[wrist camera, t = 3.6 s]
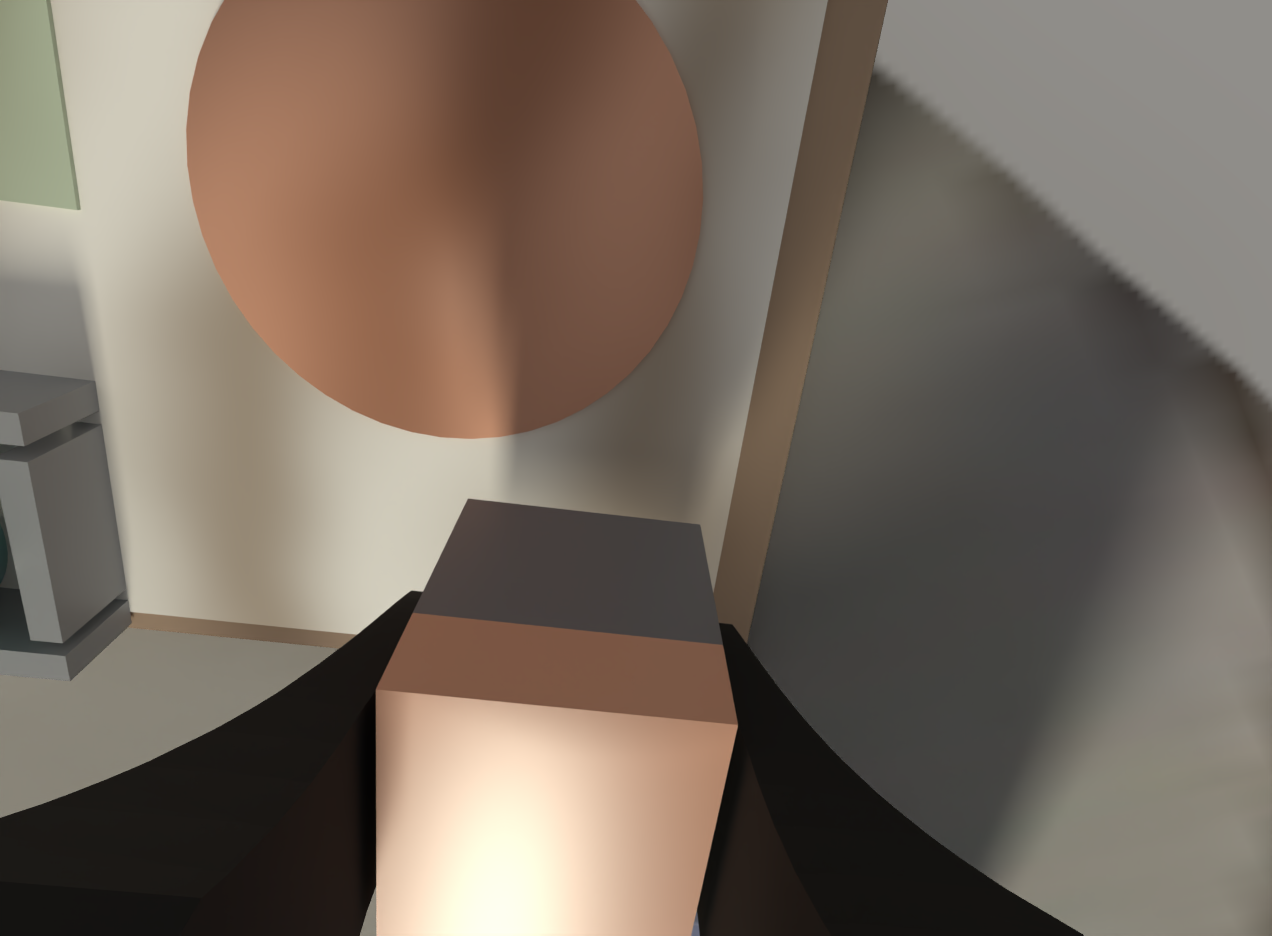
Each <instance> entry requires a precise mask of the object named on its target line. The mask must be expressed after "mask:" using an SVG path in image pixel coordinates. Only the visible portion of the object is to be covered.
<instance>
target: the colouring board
mask: <svg viewBox="0 0 1272 936" xmlns="http://www.w3.org/2000/svg"><path fill="white" fill-rule="evenodd" d="M887 3H888V0H0V370H5V371H14V372H22V373H31V374H40V375H48V376H57V377H65V378H74V379H82V380H91V381H95V383H96V389H97V396H98V403H99V409H100V410H99V411H97V412H95V413H93V414H91V415H89V416H87V417H85V418H83V419H80V420H78V421H76V422H84V423H93V424H101V425H102V429H103V436H104V442H105V449H106V456H107V462H108V469H109V475H110V482H111V489H112V495H113V502H114V509H115V515H116V522H117V528H118V535H119V542H120V548H121V555H122V562H123V568H124V575H125V581H126V588H127V589H125V590H124V591H123V592H122V593H121V594H120V595H118V596H117V597H116V598H115V599H121V600H128V601H129V608H130V615H131V621H132V623H131V624H130V625H129V626H128V627H129V628H139V629H149V630H159V631H169V632H180V633H190V634H200V635H210V636H220V637H230V638H240V639H250V640H260V641H270V642H280V643H290V644H300V645H310V646H320V647H330V648H340V647H342V646H343V645H344V644H346V643H347V642H348V641H349V640H351V639H352V638H353V637H355V636H356V635H357V634H358V633H360V632H361V631H362V630H363V629H364V628H366V627H367V626H368V625H369V624H371V623H372V622H373V621H374V620H375V619H377V618H378V617H379V616H380V615H381V614H383V613H384V612H385V611H386V610H387V609H389V608H390V607H391V606H392V605H393V604H395V603H396V602H397V601H398V600H399V599H401V598H402V597H403V596H404V595H406V594H407V593H408V592H410V591H411V590H412V591H422V592H423V591H424V588H425V586H426V584H427V582H428V580H429V578H430V576H431V574H432V572H433V570H434V568H435V566H436V564H437V562H438V559H439V557H440V555H441V553H442V551H443V549H444V547H445V545H446V543H447V541H448V539H449V537H450V535H451V532H452V530H453V528H454V526H455V524H456V522H457V520H458V518H459V516H460V514H461V512H462V510H463V508H464V506H465V503H466V501H467V499H477V500H486V501H495V502H504V503H513V504H522V505H531V506H540V507H549V508H558V509H567V510H575V511H584V512H593V513H602V514H611V515H620V516H629V517H638V518H647V519H656V520H665V521H674V522H682V523H691V524H700V526H701V531H702V536H703V542H704V547H705V552H706V558H707V563H708V568H709V573H710V579H711V584H712V589H713V595H714V600H715V605H716V611H717V616H718V621H719V623H725V624H733V626H734V627H735V628H736V630H737V631H738V632H739V634H740V635H741V637H742V638H743V639H744V641H745V642H746V644H747V641H748V636H749V632H750V627H751V623H752V618H753V613H754V609H755V604H756V600H757V595H758V591H759V586H760V582H761V577H762V572H763V568H764V563H765V559H766V554H767V550H768V545H769V540H770V536H771V531H772V527H773V522H774V518H775V513H776V509H777V504H778V499H779V495H780V490H781V486H782V481H783V477H784V472H785V468H786V463H787V458H788V454H789V449H790V445H791V440H792V436H793V431H794V427H795V422H796V417H797V413H798V408H799V404H800V399H801V395H802V390H803V385H804V381H805V376H806V372H807V367H808V363H809V358H810V354H811V349H812V344H813V340H814V335H815V331H816V326H817V322H818V317H819V313H820V308H821V303H822V299H823V294H824V290H825V285H826V281H827V276H828V272H829V267H830V262H831V258H832V253H833V249H834V244H835V240H836V235H837V230H838V226H839V221H840V217H841V212H842V208H843V203H844V199H845V194H846V189H847V185H848V180H849V176H850V171H851V167H852V162H853V158H854V153H855V148H856V144H857V139H858V135H859V130H860V126H861V121H862V117H863V112H864V107H865V103H866V98H867V94H868V89H869V85H870V80H871V75H872V71H873V66H874V62H875V57H876V53H877V48H878V44H879V39H880V34H881V29H882V25H883V20H884V16H885V12H886V7H887ZM15 447H17V446H16V445H7V444H0V454H2V453H4V452H6V451H9V450H11V449H13V448H15ZM0 525H1V527H2V529H3V532H4V536H5V539H6V544H7V551H8V562H7V568H6V573H5V575H4V578H3V580H2V582H1V584H0V587H3V588H13V589H20V588H19V584H18V579H17V574H16V570H15V565H14V560H13V556H12V551H11V546H10V542H9V537H8V532H7V527H6V523H5V518H4V513H3V509H2V504H1V499H0Z"/></svg>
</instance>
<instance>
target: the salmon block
mask: <svg viewBox="0 0 1272 936" xmlns="http://www.w3.org/2000/svg"><path fill="white" fill-rule="evenodd" d="M737 728H738V722H737V717H736V711H735V706H734V701H733V695H732V690H731V685H730V679H729V674H728V669H727V664H726V658H725V653H724V648H723V642H722V637H721V632H720V626H719V621H718V616H717V611H716V605H715V600H714V595H713V589H712V584H711V579H710V573H709V568H708V563H707V558H706V552H705V547H704V542H703V536H702V531H701V526H700V524H691V523H682V522H674V521H665V520H656V519H647V518H638V517H629V516H620V515H611V514H602V513H593V512H584V511H575V510H567V509H558V508H549V507H540V506H531V505H522V504H513V503H504V502H495V501H486V500H477V499H467V501H466V503H465V506H464V508H463V510H462V512H461V514H460V516H459V518H458V520H457V522H456V524H455V526H454V528H453V530H452V532H451V535H450V537H449V539H448V541H447V543H446V545H445V547H444V549H443V551H442V553H441V555H440V557H439V559H438V562H437V564H436V566H435V568H434V570H433V572H432V574H431V576H430V578H429V580H428V582H427V584H426V586H425V588H424V591H423V593H422V595H421V597H420V599H419V601H418V603H417V605H416V607H415V609H414V611H413V613H412V615H411V617H410V620H409V622H408V624H407V626H406V628H405V630H404V632H403V634H402V636H401V638H400V640H399V642H398V644H397V647H396V649H395V651H394V653H393V655H392V657H391V659H390V661H389V663H388V665H387V667H386V669H385V671H384V673H383V676H382V678H381V680H380V682H379V684H378V686H377V688H376V893H377V936H691V934H692V929H693V925H694V920H695V916H696V911H697V907H698V902H699V898H700V893H701V889H702V884H703V880H704V875H705V871H706V866H707V862H708V857H709V853H710V849H711V844H712V840H713V835H714V831H715V826H716V822H717V817H718V813H719V808H720V804H721V799H722V795H723V790H724V786H725V781H726V777H727V772H728V768H729V763H730V759H731V755H732V750H733V746H734V741H735V737H736V732H737Z"/></svg>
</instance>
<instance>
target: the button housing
mask: <svg viewBox="0 0 1272 936" xmlns="http://www.w3.org/2000/svg"><path fill="white" fill-rule="evenodd" d="M99 410H100V409H99V403H98V396H97V389H96V383H95V381H91V380H82V379H74V378H65V377H57V376H48V375H40V374H31V373H22V372H14V371H5V370H0V444H7V445H16V446H17V447H15V448H13V449H11V450H9V451H6V452H4V453H2V454H0V499H1V504H2V509H3V513H4V518H5V523H6V527H7V532H8V537H9V542H10V546H11V551H12V556H13V560H14V565H15V570H16V574H17V579H18V584H19V588H20V589H13V588H3V587H0V675H11V676H21V677H32V678H42V679H53V680H63V681H71V680H72V679H73V678H74V677H75V676H76V675H77V674H78V673H79V672H80V671H81V670H83V669H84V668H85V667H86V666H87V665H88V664H89V663H90V662H91V661H92V660H93V659H94V658H95V657H96V656H97V655H98V654H100V653H101V652H102V651H103V650H104V649H105V648H106V647H107V646H108V645H109V644H110V643H111V642H112V641H113V640H114V639H116V638H117V637H118V636H119V635H120V634H121V633H122V632H123V631H124V630H125V629H126V628H127V627H128V626H129V625H130V624H131V623H132V621H131V615H130V608H129V601H128V600H121V599H115V598H116V597H117V596H118V595H120V594H121V593H122V592H123V591H124V590H125V589H127V588H126V581H125V575H124V568H123V562H122V555H121V548H120V542H119V535H118V528H117V522H116V515H115V509H114V502H113V495H112V489H111V482H110V475H109V469H108V462H107V456H106V449H105V442H104V436H103V429H102V425H101V424H93V423H84V422H76V421H78V420H80V419H83V418H85V417H87V416H89V415H91V414H93V413H95V412H97V411H99Z"/></svg>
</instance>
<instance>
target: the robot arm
mask: <svg viewBox="0 0 1272 936" xmlns="http://www.w3.org/2000/svg"><path fill="white" fill-rule="evenodd" d="M422 593H423V592H422V591H412V590H411V591H410V592H408V593H407V594H406V595H404V596H403V597H402V598H401V599H399V600H398V601H397V602H396V603H395V604H393V605H392V606H391V607H390V608H389V609H387V610H386V611H385V612H384V613H383V614H381V615H380V616H379V617H378V618H377V619H375V620H374V621H373V622H372V623H371V624H369V625H368V626H367V627H366V628H364V629H363V630H362V631H361V632H360V633H358V634H357V635H356V636H355V637H353V638H352V639H351V640H349V641H348V642H347V643H346V644H344V645H343V646H342V647H340V648H339V649H338V650H337V651H335V652H334V653H333V654H331V655H330V656H329V657H328V658H326V659H325V660H324V661H322V662H321V663H320V664H318V665H317V666H315V667H314V668H312V669H311V670H310V671H308V672H307V673H305V674H304V675H302V676H301V677H300V678H298V679H297V680H295V681H294V682H292V683H291V684H290V685H288V686H287V687H285V688H284V689H282V690H281V691H279V692H278V693H276V694H275V695H273V696H271V697H270V698H268V699H267V700H265V701H263V702H262V703H260V704H258V705H257V706H255V707H253V708H252V709H250V710H248V711H246V712H245V713H243V714H241V715H239V716H238V717H236V718H234V719H232V720H231V721H229V722H227V723H225V724H223V725H222V726H220V727H218V728H216V729H214V730H212V731H210V732H208V733H206V734H204V735H202V736H200V737H198V738H196V739H194V740H192V741H190V742H188V743H186V744H184V745H182V746H179V747H177V748H175V749H173V750H171V751H169V752H167V753H165V754H163V755H161V756H159V757H157V758H155V759H153V760H151V761H149V762H146V763H144V764H142V765H140V766H137V767H135V768H132V769H130V770H128V771H125V772H123V773H121V774H118V775H116V776H114V777H111V778H109V779H107V780H104V781H101V782H99V783H96V784H94V785H91V786H89V787H86V788H84V789H81V790H78V791H76V792H73V793H71V794H68V795H66V796H63V797H60V798H57V799H55V800H52V801H49V802H46V803H44V804H41V805H38V806H35V807H32V808H29V809H26V810H23V811H20V812H17V813H14V814H11V815H8V816H5V817H2V818H0V936H360V932H361V929H362V926H363V922H364V919H365V916H366V912H367V910H368V907H369V904H370V901H371V898H372V896H373V893H374V890H375V887H376V688H377V686H378V684H379V682H380V680H381V678H382V676H383V673H384V671H385V669H386V667H387V665H388V663H389V661H390V659H391V657H392V655H393V653H394V651H395V649H396V647H397V644H398V642H399V640H400V638H401V636H402V634H403V632H404V630H405V628H406V626H407V624H408V622H409V620H410V617H411V615H412V613H413V611H414V609H415V607H416V605H417V603H418V601H419V599H420V597H421V595H422ZM719 626H720V632H721V637H722V642H723V648H724V653H725V658H726V664H727V669H728V674H729V679H730V685H731V690H732V695H733V701H734V706H735V711H736V717H737V722H738V728H737V732H736V737H735V741H734V746H733V750H732V755H731V759H730V763H729V768H728V772H727V777H726V781H725V786H724V790H723V795H722V799H721V804H720V808H719V813H718V817H717V822H716V826H715V831H714V835H713V840H712V844H711V849H710V853H709V857H708V862H707V866H706V871H705V875H704V880H703V884H702V889H701V893H700V898H699V902H698V907H697V912H696V916H695V920H694V925H693V929H692V934H691V936H1084V935H1083V934H1081V933H1080V932H1078V931H1076V930H1075V929H1073V928H1071V927H1069V926H1068V925H1066V924H1064V923H1063V922H1061V921H1059V920H1058V919H1056V918H1054V917H1053V916H1051V915H1049V914H1048V913H1046V912H1044V911H1042V910H1041V909H1039V908H1037V907H1036V906H1034V905H1032V904H1031V903H1029V902H1027V901H1026V900H1024V899H1022V898H1020V897H1019V896H1017V895H1015V894H1014V893H1012V892H1010V891H1009V890H1007V889H1005V888H1004V887H1002V886H1001V885H999V884H998V883H996V882H995V881H993V880H992V879H990V878H989V877H987V876H986V875H984V874H983V873H981V872H980V871H978V870H977V869H975V868H974V867H973V866H971V865H970V864H968V863H967V862H965V861H964V860H962V859H961V858H959V857H958V856H956V855H955V854H954V853H952V852H951V851H950V850H948V849H947V848H945V847H944V846H943V845H941V844H940V843H939V842H937V841H936V840H934V839H933V838H932V837H930V836H929V835H928V834H927V833H925V832H924V831H923V830H922V829H920V828H919V827H918V826H917V825H915V824H914V823H913V822H912V821H910V820H909V819H908V818H907V817H905V816H904V815H903V814H902V813H900V812H899V811H898V810H897V809H895V808H894V807H893V806H892V805H891V804H889V803H888V802H887V801H886V800H885V799H884V798H882V797H881V796H880V795H879V794H878V793H877V792H875V791H874V790H873V789H872V788H871V787H870V786H869V785H868V784H867V783H866V782H865V781H864V780H863V779H862V778H860V777H859V776H858V775H857V774H856V773H855V772H854V771H853V770H852V769H851V768H850V767H849V766H848V765H847V764H846V763H845V762H843V760H842V759H841V758H840V757H839V756H838V755H837V754H836V753H835V752H834V751H833V750H832V749H831V748H830V747H829V746H828V745H827V744H826V743H825V742H824V741H823V740H822V738H821V737H820V736H819V735H818V734H817V733H816V732H815V731H814V730H813V728H812V727H811V726H810V725H809V724H808V723H807V722H806V721H805V720H804V718H803V717H802V716H801V715H800V714H799V712H798V711H797V710H796V709H795V708H794V706H793V705H792V704H791V703H790V701H789V700H788V699H787V697H786V696H785V695H784V694H783V692H782V691H781V690H780V689H779V687H778V686H777V685H776V683H775V682H774V681H773V679H772V678H771V677H770V675H769V674H768V673H767V671H766V670H765V669H764V667H763V666H762V665H761V663H760V662H759V660H758V659H757V658H756V656H755V655H754V653H753V652H752V651H751V649H750V648H749V646H748V645H747V644H746V642H745V641H744V639H743V638H742V637H741V635H740V634H739V632H738V631H737V630H736V628H735V627H734V626H733V624H725V623H719Z"/></svg>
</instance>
